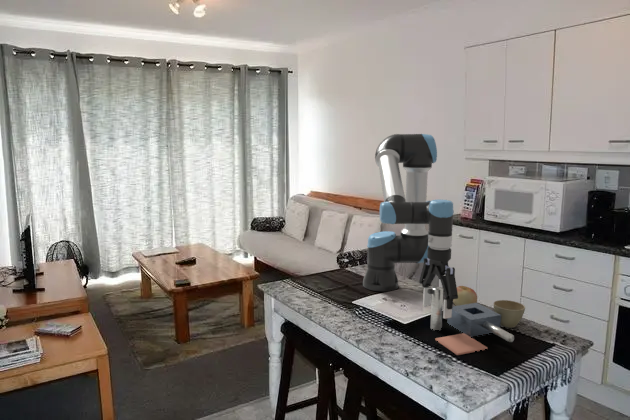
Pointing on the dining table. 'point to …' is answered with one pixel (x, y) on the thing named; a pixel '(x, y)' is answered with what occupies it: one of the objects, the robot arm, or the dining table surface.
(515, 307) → the beige bowl
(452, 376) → the dining table surface
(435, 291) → the key
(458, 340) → the mat
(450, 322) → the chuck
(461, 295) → the apple
